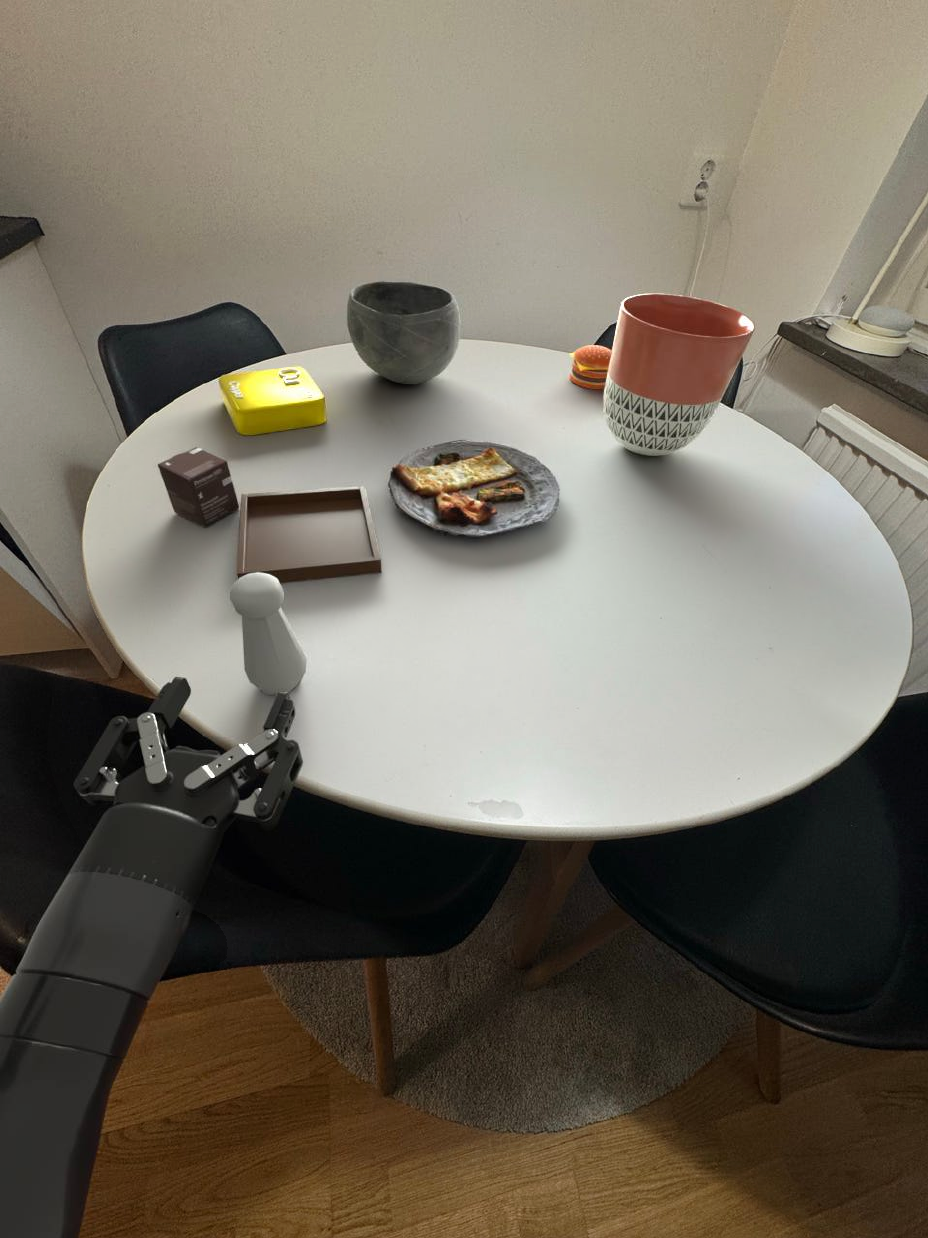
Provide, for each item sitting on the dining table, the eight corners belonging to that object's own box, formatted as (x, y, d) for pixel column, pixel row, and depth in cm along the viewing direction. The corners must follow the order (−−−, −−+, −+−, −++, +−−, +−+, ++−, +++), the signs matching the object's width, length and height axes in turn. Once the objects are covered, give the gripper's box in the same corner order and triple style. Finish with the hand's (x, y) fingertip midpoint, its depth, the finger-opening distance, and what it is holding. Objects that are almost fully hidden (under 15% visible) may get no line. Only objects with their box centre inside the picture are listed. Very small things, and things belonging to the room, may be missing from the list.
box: (204, 529, 71) (188, 480, 66) (173, 513, 73) (155, 463, 68) (241, 508, 75) (228, 460, 70) (210, 493, 77) (196, 445, 72)
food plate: (424, 561, 70) (425, 539, 67) (367, 469, 84) (366, 448, 82) (585, 522, 79) (591, 501, 76) (508, 445, 93) (511, 426, 90)
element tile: (221, 399, 97) (215, 371, 93) (305, 388, 102) (302, 362, 99) (239, 438, 88) (232, 409, 85) (330, 424, 93) (327, 396, 90)
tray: (240, 587, 64) (236, 573, 63) (244, 507, 75) (241, 493, 74) (381, 572, 68) (381, 559, 66) (365, 498, 79) (364, 485, 77)
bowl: (346, 358, 114) (339, 275, 103) (444, 356, 119) (448, 277, 108) (356, 402, 100) (350, 312, 89) (468, 398, 105) (475, 312, 94)
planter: (623, 482, 87) (669, 340, 72) (569, 425, 100) (598, 294, 84) (722, 469, 93) (784, 334, 77) (659, 417, 105) (701, 292, 90)
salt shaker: (321, 674, 56) (304, 580, 47) (280, 712, 52) (253, 618, 43) (280, 649, 58) (256, 553, 49) (237, 684, 54) (202, 588, 45)
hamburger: (619, 390, 113) (628, 356, 108) (575, 390, 111) (583, 356, 107) (604, 371, 119) (612, 339, 115) (562, 371, 118) (569, 338, 113)
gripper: (227, 896, 31) (314, 672, 42) (-19, 861, 31) (134, 648, 42) (254, 934, 36) (325, 726, 47) (44, 904, 36) (164, 705, 48)
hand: (234, 690), depth 45 cm, fingers open, 8 cm apart
